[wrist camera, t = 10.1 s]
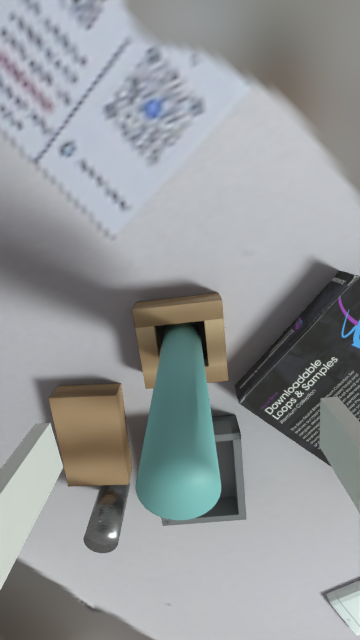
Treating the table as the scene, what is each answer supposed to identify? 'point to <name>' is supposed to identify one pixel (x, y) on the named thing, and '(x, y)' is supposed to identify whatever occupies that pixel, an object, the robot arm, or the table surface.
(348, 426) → the robot arm
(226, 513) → the tray
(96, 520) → the bench dog
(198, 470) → the dowel
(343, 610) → the hard drive
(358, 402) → the box
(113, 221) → the table surface
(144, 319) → the socket block
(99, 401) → the tan block
